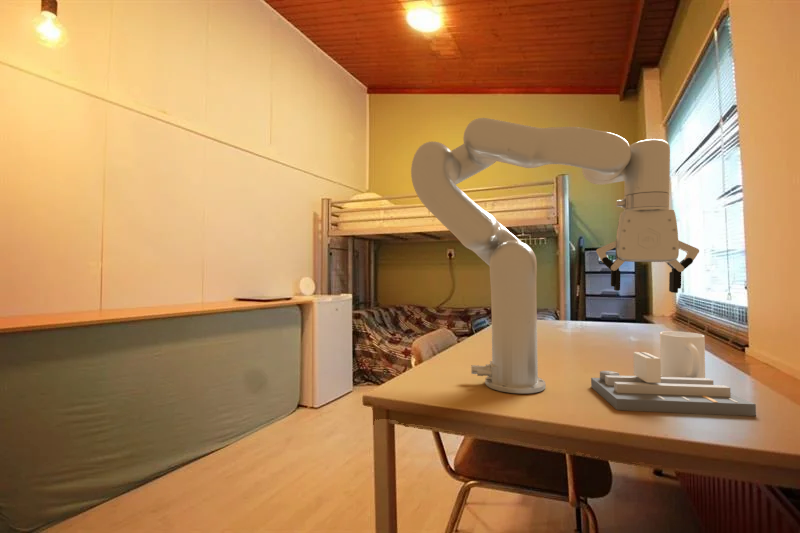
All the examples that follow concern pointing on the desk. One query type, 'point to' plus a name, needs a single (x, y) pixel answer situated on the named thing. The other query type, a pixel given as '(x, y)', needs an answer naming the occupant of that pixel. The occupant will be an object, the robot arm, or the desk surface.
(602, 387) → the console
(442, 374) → the desk surface
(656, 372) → the fader
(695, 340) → the mug
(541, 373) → the desk surface
